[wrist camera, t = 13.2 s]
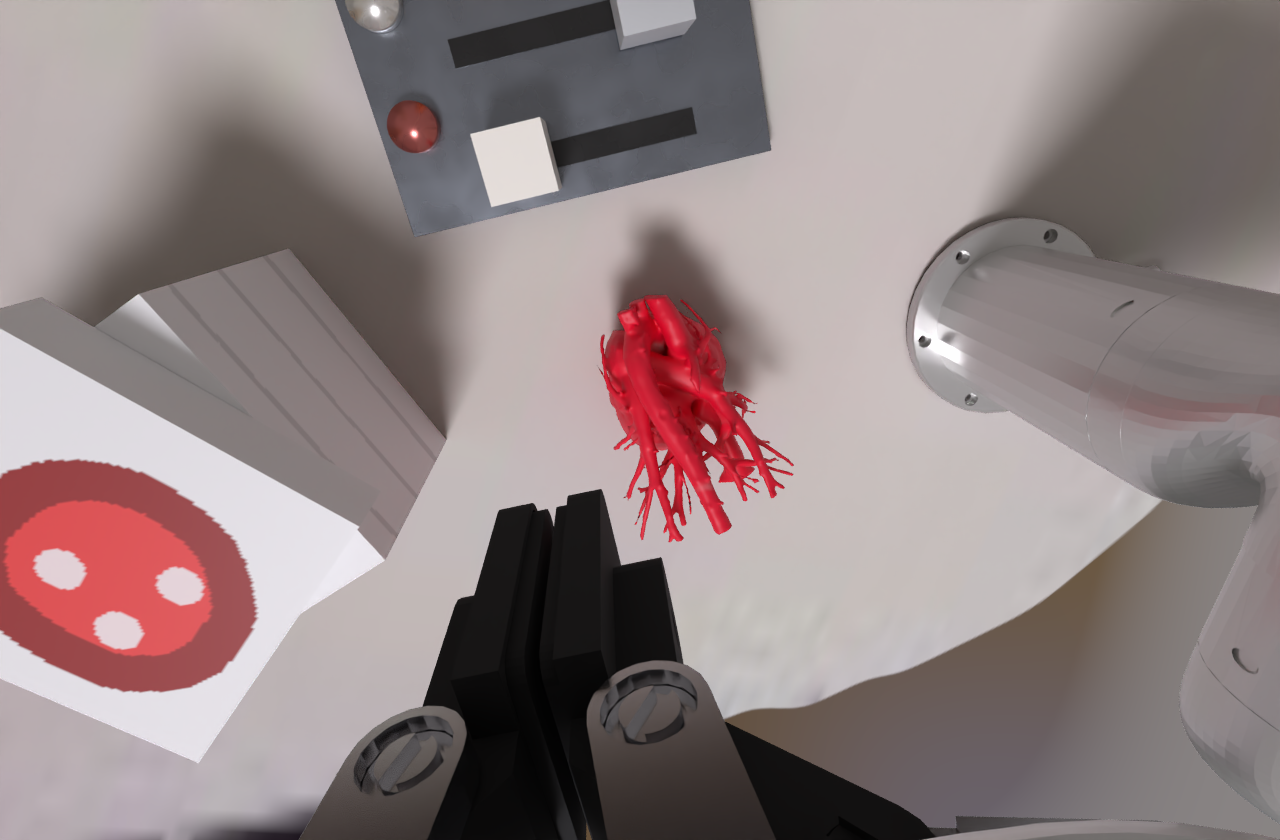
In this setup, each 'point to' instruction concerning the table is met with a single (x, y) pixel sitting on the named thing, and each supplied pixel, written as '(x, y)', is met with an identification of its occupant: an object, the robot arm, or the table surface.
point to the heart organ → (679, 408)
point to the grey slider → (650, 20)
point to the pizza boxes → (190, 490)
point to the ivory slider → (516, 161)
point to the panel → (550, 95)
